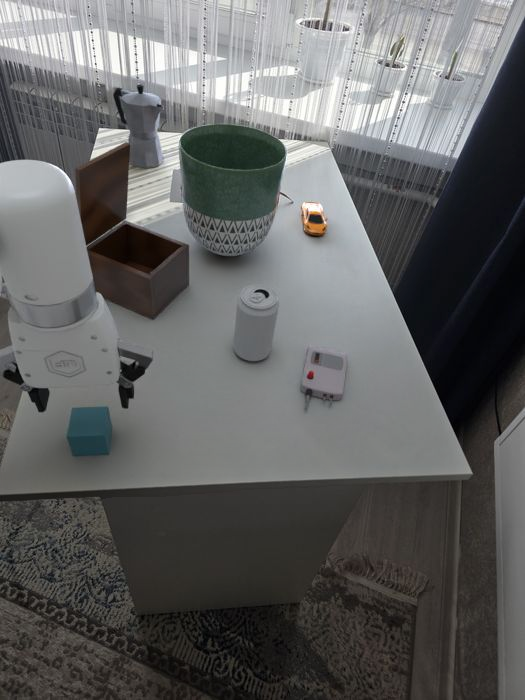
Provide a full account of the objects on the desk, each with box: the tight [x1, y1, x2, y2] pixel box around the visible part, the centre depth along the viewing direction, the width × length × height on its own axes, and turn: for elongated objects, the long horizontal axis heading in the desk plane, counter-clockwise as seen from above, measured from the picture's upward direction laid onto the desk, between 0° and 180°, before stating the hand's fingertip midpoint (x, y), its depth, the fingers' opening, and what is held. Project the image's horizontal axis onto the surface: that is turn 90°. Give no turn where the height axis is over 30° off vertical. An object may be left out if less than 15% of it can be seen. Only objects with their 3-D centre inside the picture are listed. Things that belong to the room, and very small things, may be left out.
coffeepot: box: [112, 84, 165, 169], centre depth 116 cm, size 15×9×18 cm, turn 58°
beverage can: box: [232, 283, 280, 362], centre depth 74 cm, size 6×6×12 cm
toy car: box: [300, 201, 328, 237], centre depth 108 cm, size 6×12×3 cm, turn 2°
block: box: [66, 405, 113, 457], centre depth 62 cm, size 5×5×5 cm
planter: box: [178, 123, 288, 257], centre depth 91 cm, size 20×20×21 cm
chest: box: [86, 219, 190, 321], centre depth 83 cm, size 14×12×9 cm
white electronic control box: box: [299, 344, 348, 410], centre depth 75 cm, size 7×16×3 cm, turn 168°
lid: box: [74, 141, 130, 247], centre depth 76 cm, size 15×12×1 cm
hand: (86, 401), depth 58 cm, fingers open, 9 cm apart
